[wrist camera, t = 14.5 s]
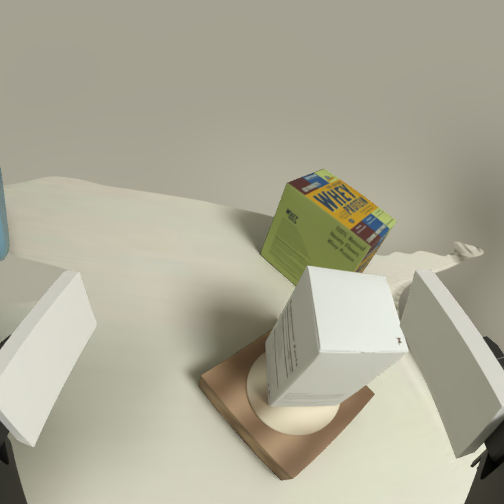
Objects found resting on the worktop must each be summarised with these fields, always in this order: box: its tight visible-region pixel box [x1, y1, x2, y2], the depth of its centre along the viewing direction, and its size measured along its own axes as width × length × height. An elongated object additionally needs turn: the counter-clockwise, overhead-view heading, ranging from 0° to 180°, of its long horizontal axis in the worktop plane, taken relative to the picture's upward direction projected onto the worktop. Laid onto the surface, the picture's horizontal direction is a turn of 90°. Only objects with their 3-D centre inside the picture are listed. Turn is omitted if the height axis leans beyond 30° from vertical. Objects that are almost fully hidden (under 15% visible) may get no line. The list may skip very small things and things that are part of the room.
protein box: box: [260, 169, 396, 286], centre depth 50 cm, size 10×15×16 cm
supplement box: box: [265, 266, 408, 407], centre depth 31 cm, size 9×9×15 cm
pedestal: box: [199, 329, 374, 480], centre depth 36 cm, size 16×16×4 cm
